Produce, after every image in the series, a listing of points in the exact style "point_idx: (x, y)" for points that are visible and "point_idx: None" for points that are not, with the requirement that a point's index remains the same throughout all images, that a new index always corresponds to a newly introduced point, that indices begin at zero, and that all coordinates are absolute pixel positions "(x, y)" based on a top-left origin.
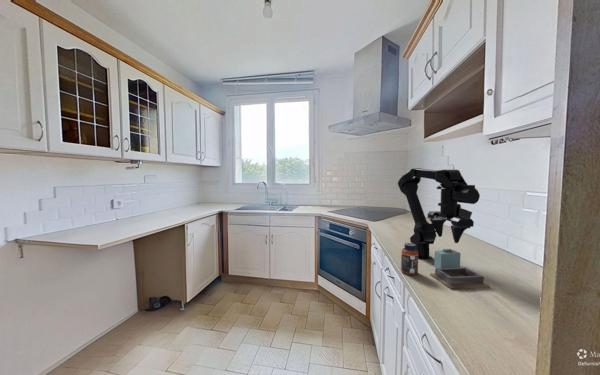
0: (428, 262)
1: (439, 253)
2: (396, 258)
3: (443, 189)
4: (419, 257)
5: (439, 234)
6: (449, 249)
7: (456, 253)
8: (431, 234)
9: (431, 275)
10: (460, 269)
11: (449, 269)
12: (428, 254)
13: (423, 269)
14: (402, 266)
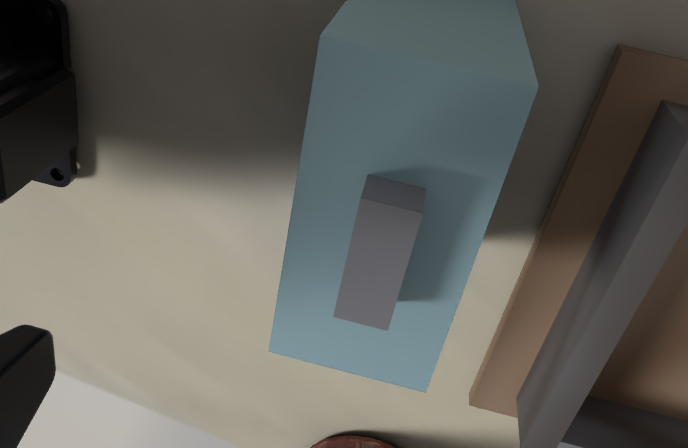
0: (185, 157)
1: (382, 376)
2: None
3: None
4: (52, 168)
5: (19, 425)
6: (384, 233)
7: (507, 169)
8: None
9: (489, 402)
10: (671, 236)
11: (607, 358)
12: (50, 100)
13: None
14: None
